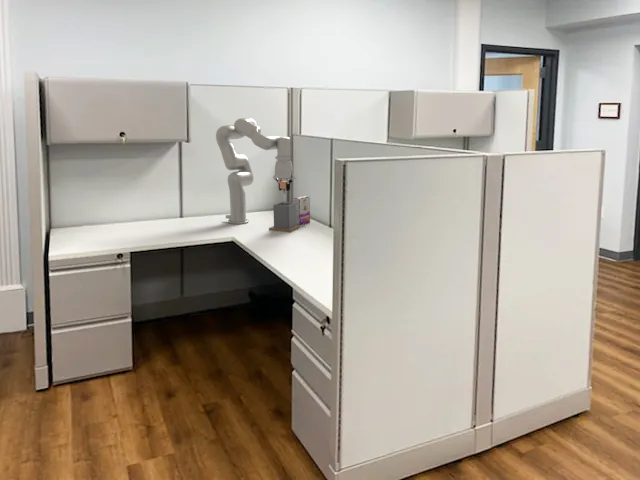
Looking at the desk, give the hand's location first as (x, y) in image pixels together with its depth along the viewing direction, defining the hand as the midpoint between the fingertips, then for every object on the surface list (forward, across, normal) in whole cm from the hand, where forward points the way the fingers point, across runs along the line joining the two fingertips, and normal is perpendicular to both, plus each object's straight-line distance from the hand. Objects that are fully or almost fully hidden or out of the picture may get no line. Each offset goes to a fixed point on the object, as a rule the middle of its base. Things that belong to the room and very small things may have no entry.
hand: (284, 190), depth 349 cm
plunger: (+14, 0, 0) cm, 14 cm away
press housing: (+23, 0, 0) cm, 23 cm away
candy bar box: (+23, +2, +20) cm, 31 cm away
